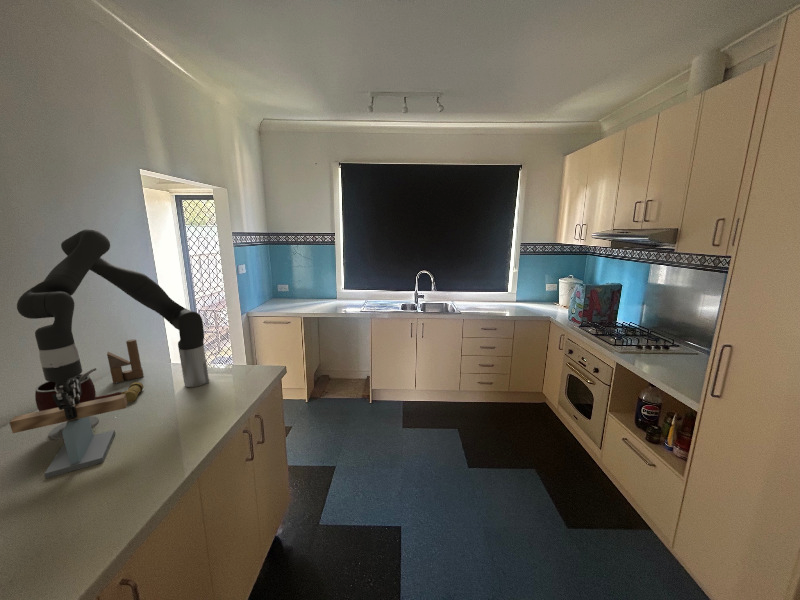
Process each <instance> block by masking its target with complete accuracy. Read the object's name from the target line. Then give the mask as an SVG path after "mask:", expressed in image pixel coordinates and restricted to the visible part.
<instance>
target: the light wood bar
mask: <svg viewBox="0 0 800 600" xmlns="http://www.w3.org/2000/svg"><path fill="white" fill-rule="evenodd" d="M127 406H128V403H127V399H126V394H122V395H117V396H112V397H107V398H102V399H97V400H92V401H87V402H83V403H78V404H75V407H76V412H77V418H75V419H80V418H84V417H89V416H97V415H98V416H99V415H102V414H105V413H110V412H114V411H121V410H124V409H126V408H127ZM75 419H71V420H75ZM71 420H67V419H66V415H65V411H64V409H62V410H59V408H53V409H48V410H44V411H39V410H38V411H34V412H30V413H24V414H20V415H15V416H14V417H13V418H12V419H11V420H10V421H9V425H10V429H11V432H12V434H16V433H21V432H25V431H30V430H34V429H38V428H43V427H47V426H52V425H57V424H63V423H65V422H67V421H71Z"/></svg>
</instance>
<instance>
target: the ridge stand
mask: <svg viewBox="0 0 800 600" xmlns="http://www.w3.org/2000/svg"><path fill="white" fill-rule="evenodd" d="M62 434H63V442H64V443H63V444H62V446H61V448H60V449H59V450H58V452H57V453H56V454H55V456H54V458H53V459H52V461H51V462H50V464H49V466H48V468H46V469H45V472H44V473H43V476H44V478H45V479H48V478H52V477H56V476H59V475H62V474H66V473H70V472H73V471H77V470H81V469H84V468H87V467H92V466H95V465H98V464H102V463H104V461H105V459H106V456H107V454H108V452H109V450H110V447H111V445H112V443H113V440H114V437H115V435H116V430H115V429H112V430H108V431H104V432H99V433H96V434H94V432H93V428H92V427H91V423H90V418H89V417H84V418H80V419H75V420H71V421H69V422H68V424H67V425H66V427H65V428H64V429H63V431H62Z"/></svg>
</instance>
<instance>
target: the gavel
mask: <svg viewBox="0 0 800 600" xmlns="http://www.w3.org/2000/svg"><path fill="white" fill-rule="evenodd" d="M143 389H144V384H143V383H142V382H138V381H135V382H133V383H130V385H129V387H128V389H127V390H125V391H119V392H115V393H109V394H104V395H99V396H96V399H95V400H97V399H102V398H107V397H112V396H117V395H122V394H126V399H127V404H128V403H132V402H135V401H136V400H137V398H138V395H139V392H140V393H141V392H142V391H143Z"/></svg>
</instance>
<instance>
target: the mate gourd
mask: <svg viewBox="0 0 800 600" xmlns="http://www.w3.org/2000/svg"><path fill="white" fill-rule="evenodd" d="M95 371H97V368H95V367H94V368H92V369H89V371H87V372H84V373H81V374H80V375H78V376H80V383H81V393H82V394H81V395H79V396H80V400H79V402H80V403H83V402H87V401H92V400H95V399H96V397H97V396H96V393H97V392H96V388H95V384H94V382H93V380H92V378H91V375H90V374H91V373H93V372H95ZM55 386H56V383H55V382H49V381H45V382H43V383H41V384H39V385H37V386H36V387H35V388H34V390H35V391H34V392H35V393H34V395H35V396H34V398H35V400H34V401H35V404H36V407H37V410H38V412H39V411H44V410H48V409H53V408H58V406H57V404H56V403H55V401H54V399H53V397H52V396H53V394H57V392H55ZM65 404H67V403H65ZM89 418H90V423H91V427H92V429H93V428H94V427H96V426H97V425H98V424H99V421H100V419H99V417H97V416H96V415H93V416H89ZM68 422H69V421H66V422H62V423H60V424H58V425H57V426H55V427H54V428H52V429H51V430H50V431H49V433H48V436H49V438H50V439H52V440H62V439H63V440H64V438H63V434H62V431H63V429H64V428H65V427H66V425H67V424H68Z"/></svg>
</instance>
